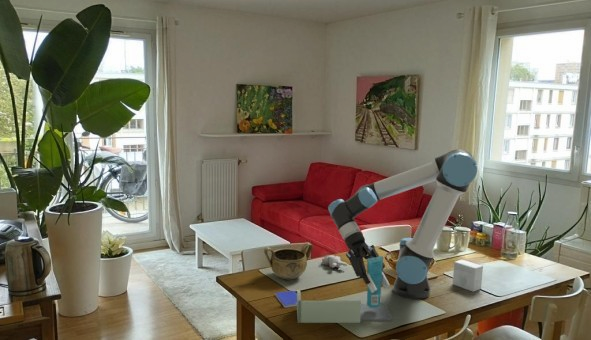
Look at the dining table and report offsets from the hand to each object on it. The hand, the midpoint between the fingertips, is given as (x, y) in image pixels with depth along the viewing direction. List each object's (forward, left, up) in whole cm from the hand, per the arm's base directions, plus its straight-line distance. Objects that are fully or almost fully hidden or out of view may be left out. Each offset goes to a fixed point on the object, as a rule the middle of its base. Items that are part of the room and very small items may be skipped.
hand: (381, 289), depth 176 cm
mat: (+2, -3, -11) cm, 11 cm away
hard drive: (+34, -15, -12) cm, 39 cm away
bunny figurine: (+12, -53, -11) cm, 55 cm away
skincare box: (-44, -29, -11) cm, 54 cm away
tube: (+2, -3, -8) cm, 9 cm away
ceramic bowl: (+34, -39, -11) cm, 53 cm away
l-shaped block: (+20, -1, -11) cm, 22 cm away
